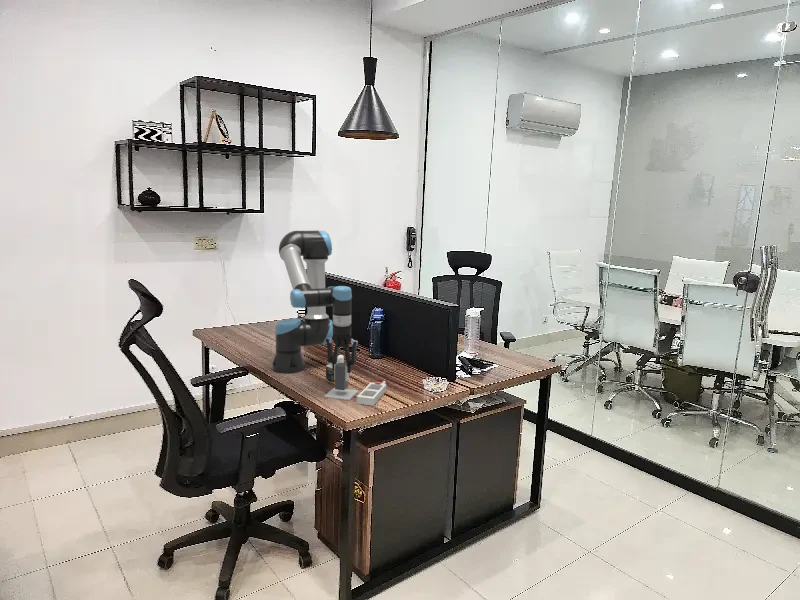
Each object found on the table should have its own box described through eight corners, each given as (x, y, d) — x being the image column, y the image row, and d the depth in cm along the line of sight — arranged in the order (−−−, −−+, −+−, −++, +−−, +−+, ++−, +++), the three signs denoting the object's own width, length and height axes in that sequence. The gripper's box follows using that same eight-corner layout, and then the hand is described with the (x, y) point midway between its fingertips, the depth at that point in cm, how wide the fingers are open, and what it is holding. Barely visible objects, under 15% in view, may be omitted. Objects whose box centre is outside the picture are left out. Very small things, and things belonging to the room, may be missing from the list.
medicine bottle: (325, 380, 248) (325, 354, 246) (338, 377, 253) (338, 351, 251) (335, 384, 243) (335, 358, 241) (348, 381, 248) (348, 355, 246)
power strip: (377, 382, 248) (377, 374, 247) (392, 384, 246) (392, 376, 245) (356, 403, 222) (356, 394, 221) (373, 405, 220) (373, 396, 220)
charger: (339, 385, 234) (339, 362, 233) (348, 386, 233) (348, 363, 232) (334, 389, 230) (334, 365, 228) (344, 390, 229) (344, 366, 227)
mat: (334, 388, 239) (334, 387, 239) (358, 391, 236) (358, 390, 236) (324, 397, 228) (324, 396, 228) (349, 400, 226) (349, 399, 225)
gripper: (318, 324, 225) (319, 380, 229) (358, 328, 221) (358, 384, 225) (326, 320, 232) (326, 374, 237) (364, 324, 228) (364, 378, 232)
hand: (341, 379), depth 231 cm, fingers closed on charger, 4 cm apart
